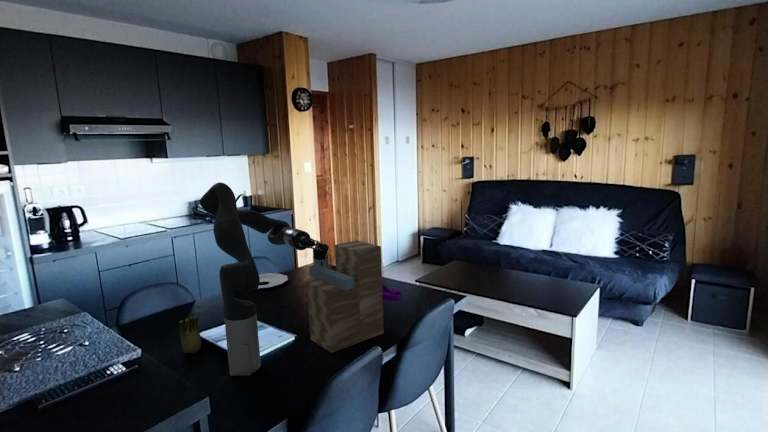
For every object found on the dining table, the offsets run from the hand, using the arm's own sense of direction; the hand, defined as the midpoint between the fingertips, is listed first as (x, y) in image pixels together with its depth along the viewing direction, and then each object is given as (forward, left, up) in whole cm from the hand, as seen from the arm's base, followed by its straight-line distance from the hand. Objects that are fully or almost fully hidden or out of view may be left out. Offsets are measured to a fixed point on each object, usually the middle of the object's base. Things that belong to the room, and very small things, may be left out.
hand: (317, 246), depth 154 cm
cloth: (+33, -23, -32) cm, 52 cm away
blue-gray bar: (-10, -5, -10) cm, 15 cm away
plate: (+57, +39, -32) cm, 76 cm away
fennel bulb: (-17, +41, -32) cm, 55 cm away
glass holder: (+65, +9, -32) cm, 73 cm away
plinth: (-7, -10, -31) cm, 34 cm away
